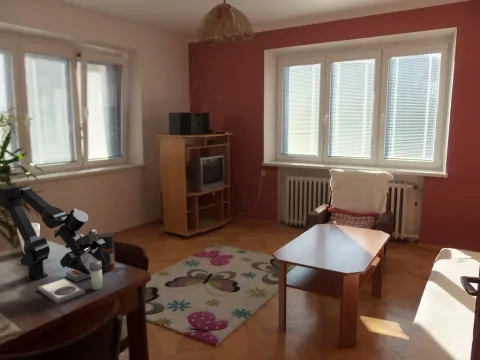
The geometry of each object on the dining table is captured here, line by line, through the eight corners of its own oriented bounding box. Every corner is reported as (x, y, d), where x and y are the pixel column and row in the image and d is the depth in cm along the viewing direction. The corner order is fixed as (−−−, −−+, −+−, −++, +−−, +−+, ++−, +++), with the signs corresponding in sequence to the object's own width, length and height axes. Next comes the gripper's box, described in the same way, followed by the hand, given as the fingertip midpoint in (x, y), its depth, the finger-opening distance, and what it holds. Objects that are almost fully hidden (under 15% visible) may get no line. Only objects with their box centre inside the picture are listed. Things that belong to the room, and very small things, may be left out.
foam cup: (28, 248, 186) (25, 222, 183) (46, 248, 185) (43, 223, 182) (15, 255, 176) (12, 228, 174) (33, 255, 175) (31, 228, 173)
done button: (73, 272, 153) (72, 266, 152) (82, 269, 156) (82, 263, 155) (78, 275, 150) (77, 269, 150) (87, 272, 153) (87, 266, 153)
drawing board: (38, 289, 141) (37, 286, 140) (64, 280, 148) (64, 277, 148) (57, 303, 130) (56, 299, 130) (84, 293, 138) (84, 289, 138)
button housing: (66, 276, 153) (66, 271, 152) (85, 270, 159) (84, 265, 158) (75, 281, 148) (75, 276, 147) (94, 275, 154) (94, 270, 153)
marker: (89, 287, 142) (87, 262, 141) (99, 283, 146) (97, 259, 144) (95, 290, 140) (93, 265, 138) (105, 286, 143) (103, 262, 141)
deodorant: (110, 272, 157) (108, 237, 154) (97, 271, 158) (95, 236, 155) (117, 266, 162) (115, 233, 160) (105, 265, 164) (103, 232, 161)
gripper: (63, 232, 132) (91, 265, 130) (99, 218, 149) (124, 248, 147) (48, 251, 136) (75, 284, 134) (85, 235, 153) (109, 264, 151)
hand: (97, 269), depth 141 cm, fingers open, 9 cm apart
